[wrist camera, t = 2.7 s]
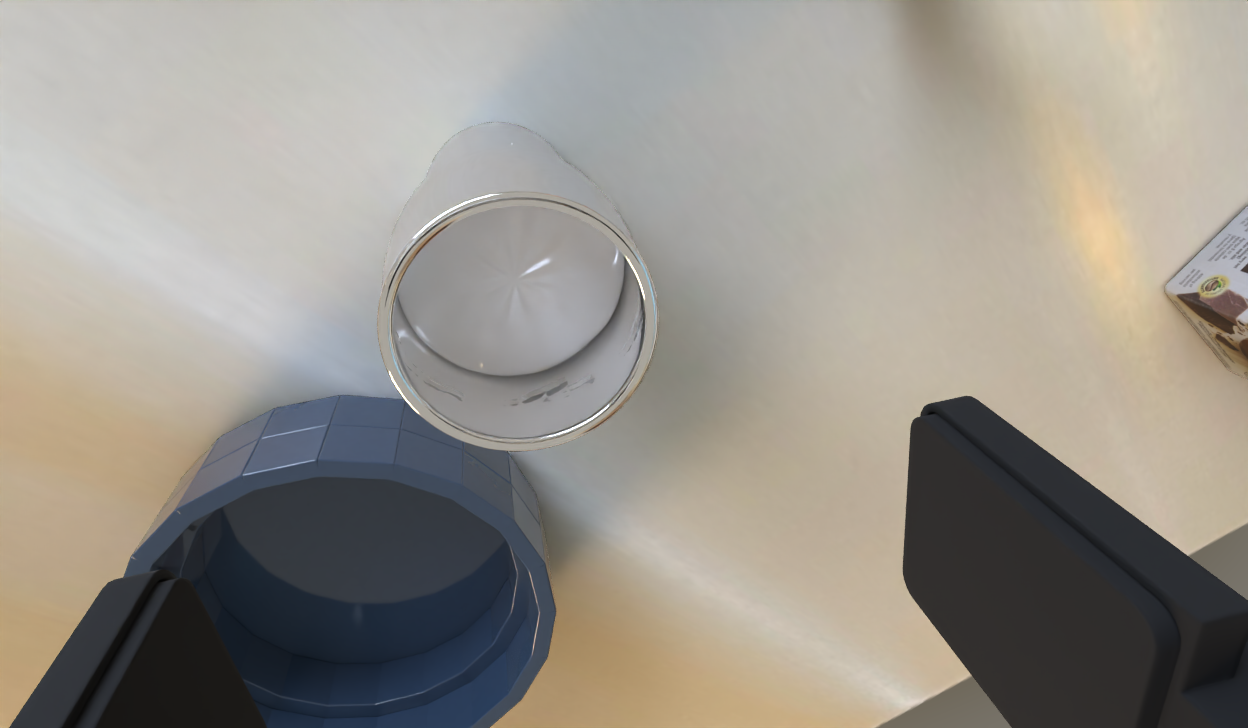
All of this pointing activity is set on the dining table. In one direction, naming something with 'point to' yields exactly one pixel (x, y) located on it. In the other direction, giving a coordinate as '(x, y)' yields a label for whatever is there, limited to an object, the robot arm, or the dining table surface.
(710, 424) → the dining table surface
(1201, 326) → the coffee box
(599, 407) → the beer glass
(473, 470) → the bowl
